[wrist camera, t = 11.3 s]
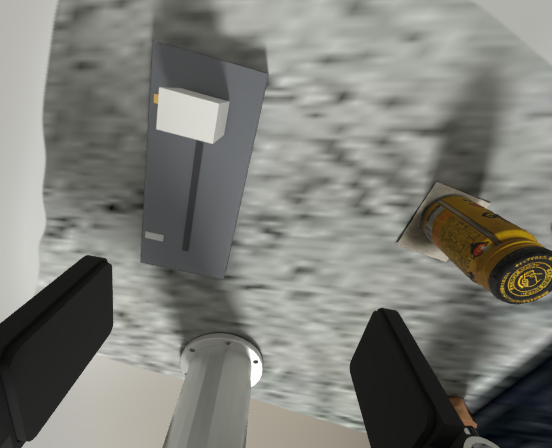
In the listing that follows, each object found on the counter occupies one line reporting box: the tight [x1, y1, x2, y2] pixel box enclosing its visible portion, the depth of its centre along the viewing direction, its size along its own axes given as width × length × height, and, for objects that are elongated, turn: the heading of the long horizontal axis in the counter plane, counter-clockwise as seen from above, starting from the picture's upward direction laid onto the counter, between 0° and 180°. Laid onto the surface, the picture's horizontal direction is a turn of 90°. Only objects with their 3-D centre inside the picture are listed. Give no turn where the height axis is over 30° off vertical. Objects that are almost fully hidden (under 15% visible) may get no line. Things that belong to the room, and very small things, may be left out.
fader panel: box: [140, 40, 269, 280], centre depth 30 cm, size 23×10×2 cm, turn 165°
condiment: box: [397, 182, 552, 304], centre depth 27 cm, size 7×8×12 cm
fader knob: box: [156, 87, 230, 144], centre depth 23 cm, size 3×4×5 cm
